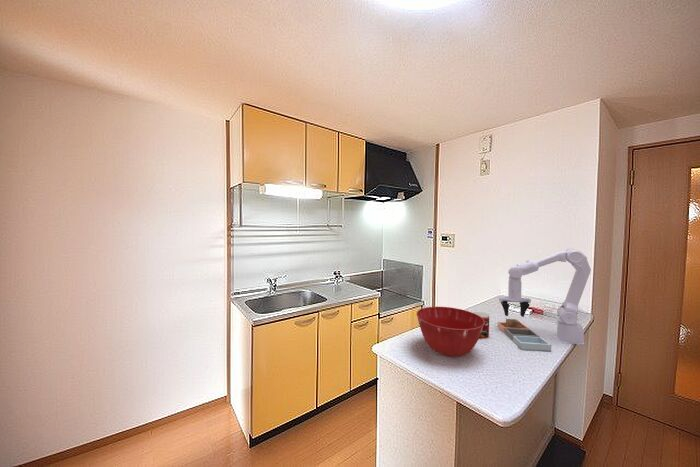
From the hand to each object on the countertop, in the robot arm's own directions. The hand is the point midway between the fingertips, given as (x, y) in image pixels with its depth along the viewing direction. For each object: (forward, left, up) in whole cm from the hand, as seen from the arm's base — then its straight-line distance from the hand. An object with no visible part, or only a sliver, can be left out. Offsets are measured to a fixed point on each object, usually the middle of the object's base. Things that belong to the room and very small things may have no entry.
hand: (514, 315), depth 138 cm
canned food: (+19, +8, -9) cm, 22 cm away
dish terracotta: (0, -1, -8) cm, 9 cm away
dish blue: (0, +17, -8) cm, 19 cm away
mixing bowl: (+38, +26, -9) cm, 47 cm away
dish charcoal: (0, +8, -8) cm, 11 cm away
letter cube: (0, -1, -8) cm, 8 cm away
